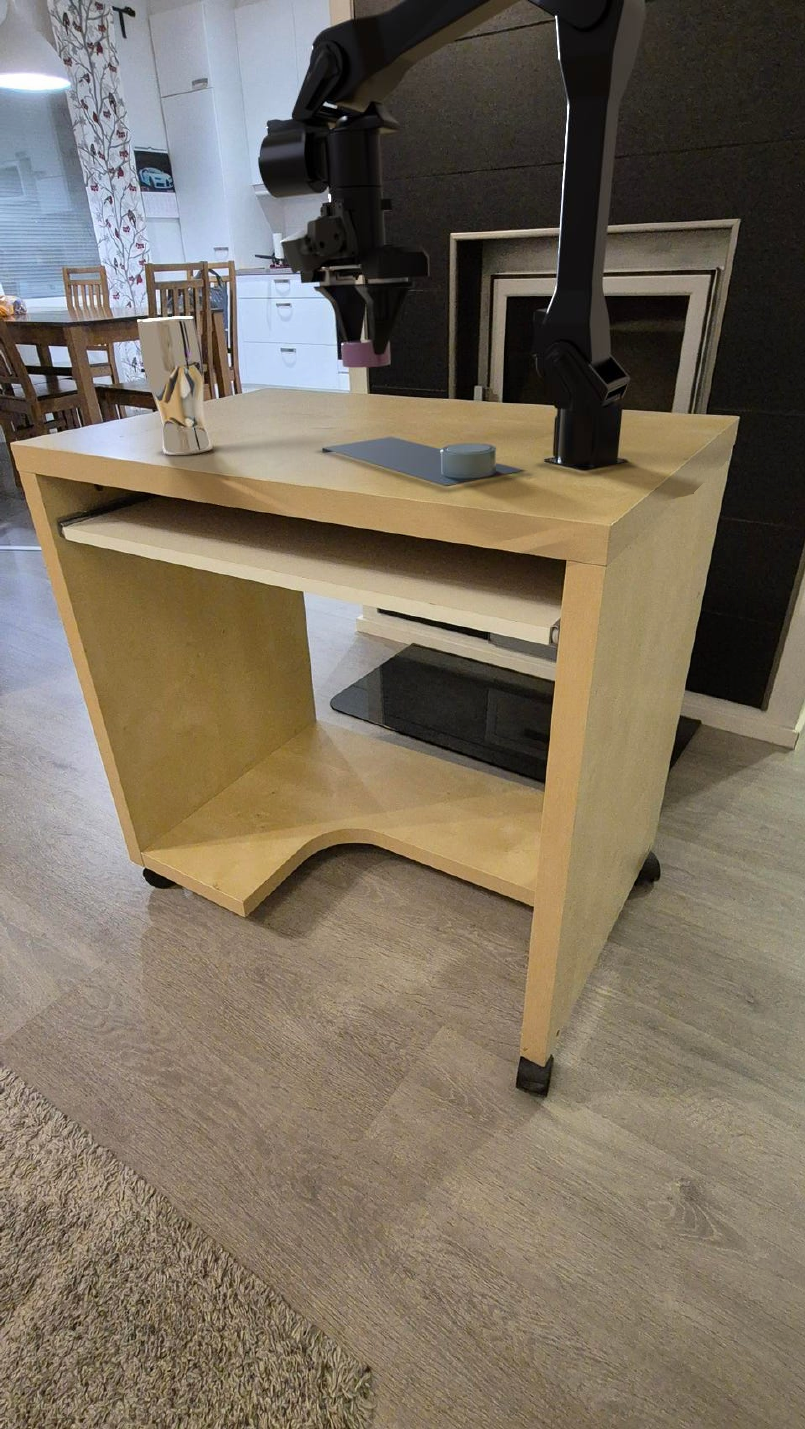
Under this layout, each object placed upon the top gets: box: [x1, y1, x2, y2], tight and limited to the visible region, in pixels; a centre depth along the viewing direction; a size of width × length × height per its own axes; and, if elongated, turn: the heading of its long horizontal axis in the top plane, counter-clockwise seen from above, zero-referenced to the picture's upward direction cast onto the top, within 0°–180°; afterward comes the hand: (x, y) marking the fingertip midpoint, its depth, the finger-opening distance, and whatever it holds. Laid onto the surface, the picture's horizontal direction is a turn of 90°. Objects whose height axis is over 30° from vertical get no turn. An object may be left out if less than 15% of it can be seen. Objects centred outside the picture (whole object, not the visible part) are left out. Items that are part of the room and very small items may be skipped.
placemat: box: [321, 436, 525, 487], centre depth 87 cm, size 26×10×1 cm, turn 33°
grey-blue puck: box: [440, 442, 497, 479], centre depth 79 cm, size 6×6×2 cm
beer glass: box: [137, 316, 213, 456], centre depth 94 cm, size 7×7×15 cm
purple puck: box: [340, 339, 392, 369], centre depth 88 cm, size 6×6×2 cm
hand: (366, 353), depth 88 cm, fingers closed on purple puck, 5 cm apart
